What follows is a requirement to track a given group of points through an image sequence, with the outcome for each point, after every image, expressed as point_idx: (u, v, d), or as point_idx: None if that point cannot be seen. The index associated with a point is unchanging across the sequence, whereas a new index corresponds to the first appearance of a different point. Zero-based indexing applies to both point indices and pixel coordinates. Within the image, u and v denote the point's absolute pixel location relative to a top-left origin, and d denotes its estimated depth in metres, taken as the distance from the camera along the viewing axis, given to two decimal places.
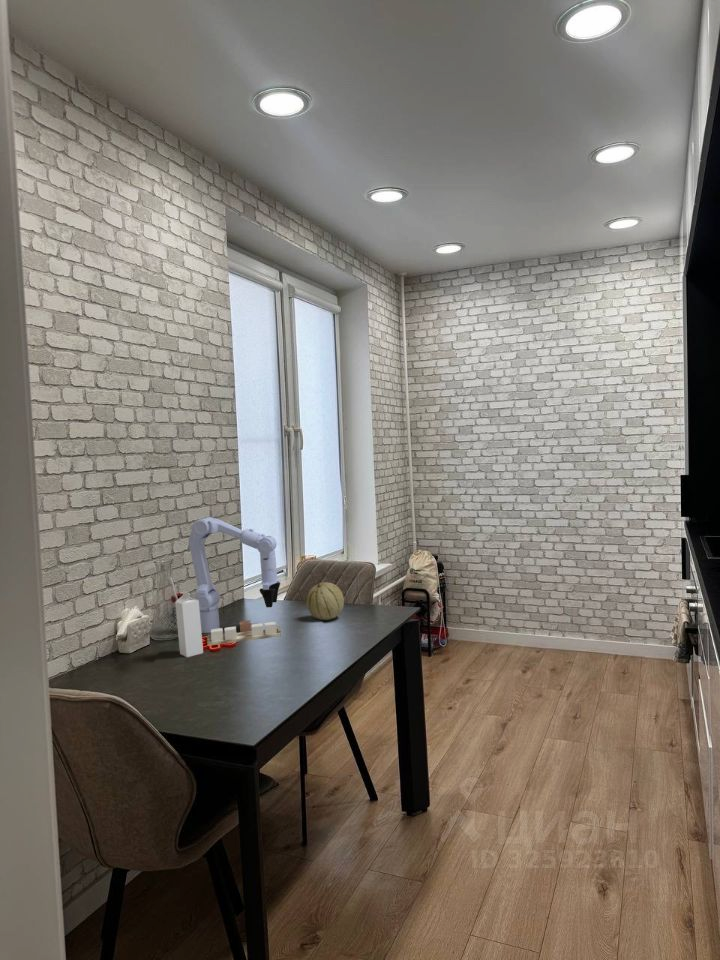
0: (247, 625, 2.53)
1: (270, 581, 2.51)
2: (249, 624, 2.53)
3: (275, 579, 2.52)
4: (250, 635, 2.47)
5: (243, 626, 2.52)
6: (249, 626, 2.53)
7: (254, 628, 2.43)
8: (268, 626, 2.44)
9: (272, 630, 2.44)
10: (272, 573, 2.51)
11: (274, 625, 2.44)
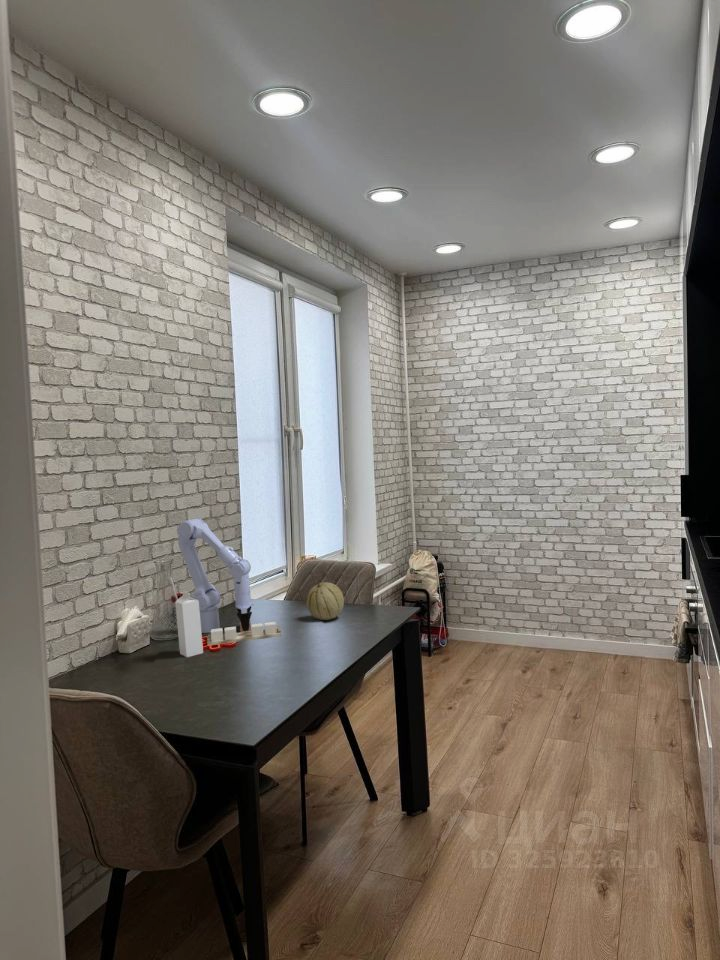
0: None
1: (246, 604, 2.52)
2: (249, 624, 2.53)
3: (250, 602, 2.53)
4: (250, 635, 2.47)
5: None
6: (249, 626, 2.53)
7: (254, 628, 2.43)
8: (268, 626, 2.44)
9: (272, 630, 2.44)
10: (247, 596, 2.52)
11: (274, 625, 2.44)
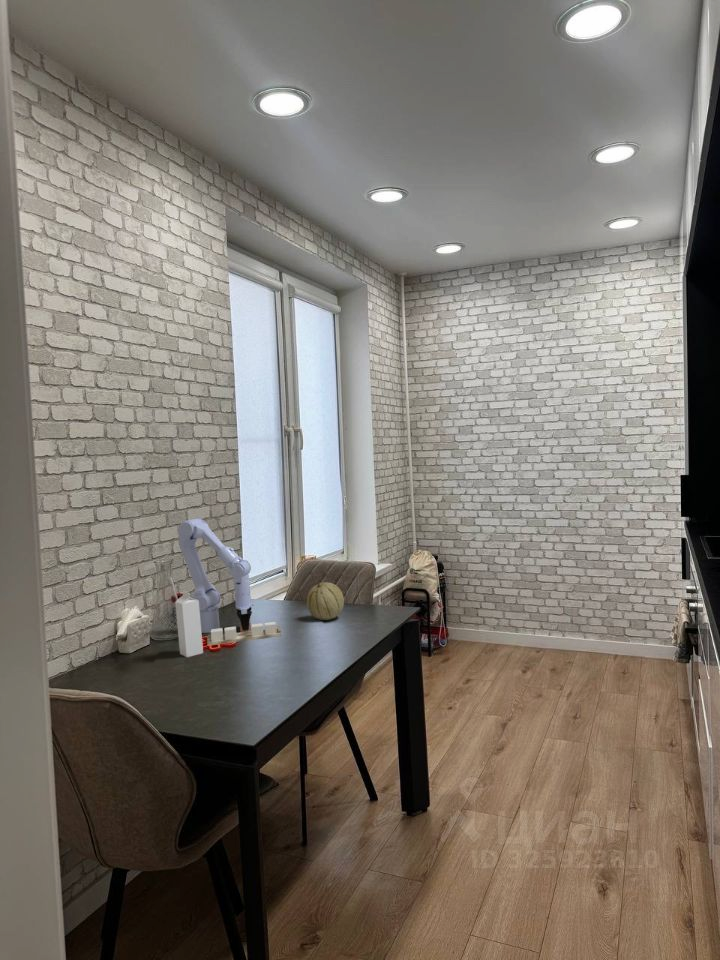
0: None
1: (246, 605, 2.52)
2: (249, 624, 2.53)
3: (250, 603, 2.53)
4: (250, 635, 2.47)
5: None
6: (249, 626, 2.53)
7: (254, 628, 2.43)
8: (268, 626, 2.44)
9: (272, 630, 2.44)
10: (247, 597, 2.52)
11: (274, 625, 2.44)
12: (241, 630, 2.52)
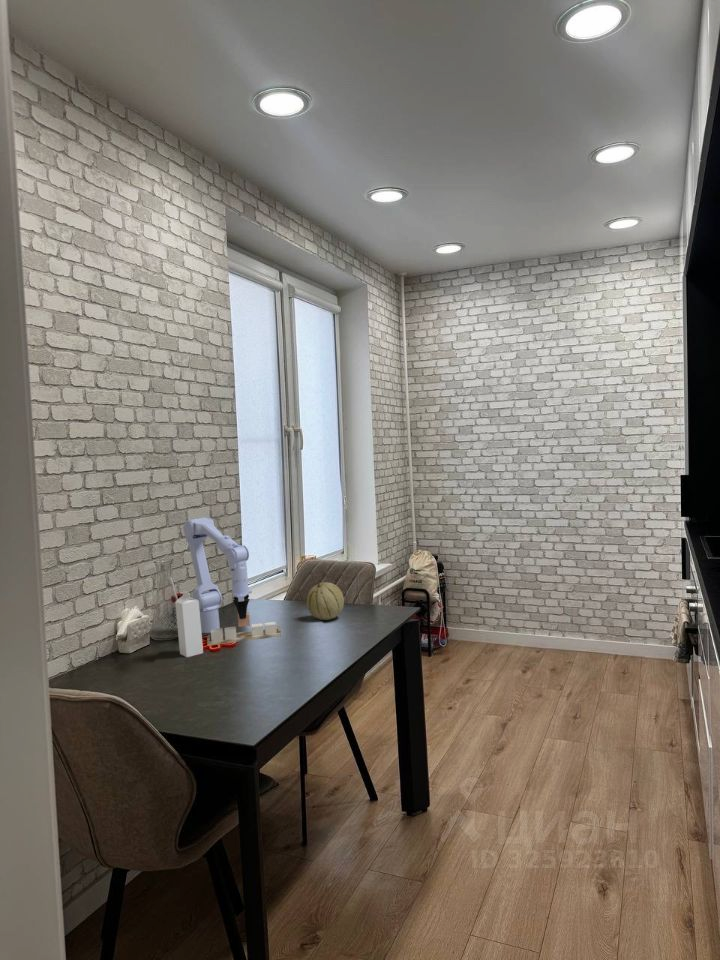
0: None
1: (243, 592, 2.41)
2: (247, 616, 2.42)
3: (247, 590, 2.43)
4: (250, 635, 2.47)
5: None
6: (247, 618, 2.42)
7: (254, 628, 2.43)
8: (268, 626, 2.44)
9: (272, 630, 2.44)
10: (245, 584, 2.41)
11: (274, 625, 2.44)
12: (239, 622, 2.42)
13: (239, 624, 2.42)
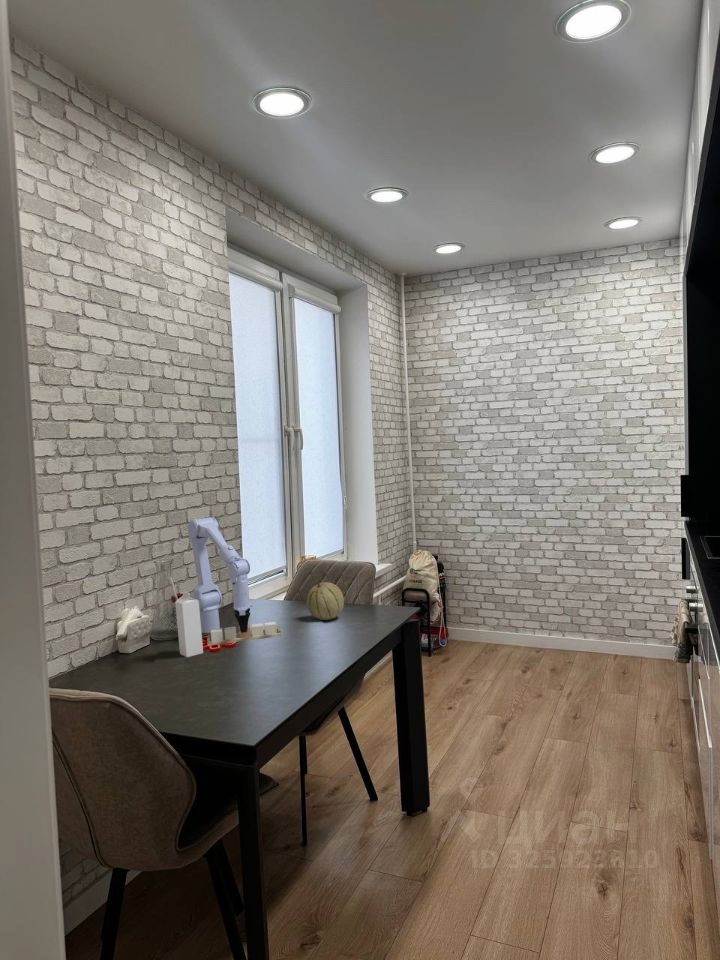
0: None
1: (244, 606, 2.41)
2: (248, 629, 2.42)
3: (248, 603, 2.43)
4: None
5: None
6: (248, 631, 2.42)
7: (254, 628, 2.43)
8: (268, 626, 2.44)
9: (272, 630, 2.44)
10: (246, 597, 2.42)
11: (274, 625, 2.44)
12: (240, 635, 2.42)
13: (240, 637, 2.42)
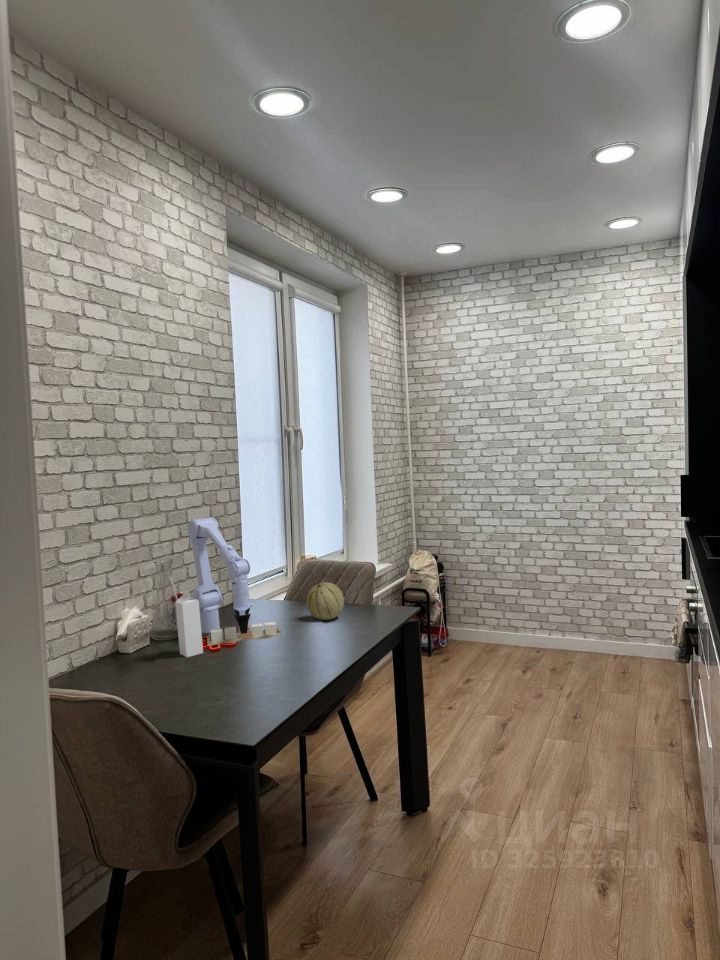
0: None
1: (244, 606, 2.41)
2: (248, 629, 2.42)
3: (248, 603, 2.43)
4: None
5: None
6: (248, 631, 2.42)
7: (254, 628, 2.43)
8: (268, 626, 2.44)
9: (272, 630, 2.44)
10: (246, 597, 2.42)
11: (274, 625, 2.44)
12: (240, 635, 2.42)
13: (240, 637, 2.42)
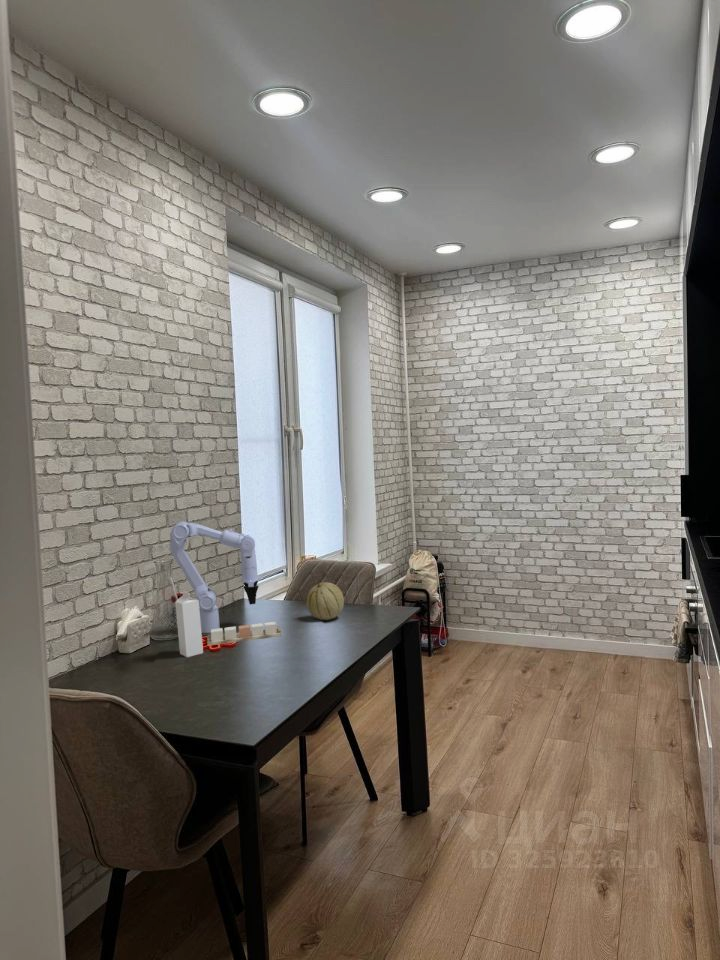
0: (246, 630, 2.42)
1: (252, 579, 2.58)
2: (248, 629, 2.42)
3: (256, 576, 2.60)
4: None
5: (242, 631, 2.42)
6: (248, 631, 2.42)
7: (254, 628, 2.43)
8: (268, 626, 2.44)
9: (272, 630, 2.44)
10: (254, 571, 2.58)
11: (274, 625, 2.44)
12: (240, 635, 2.42)
13: (240, 637, 2.42)
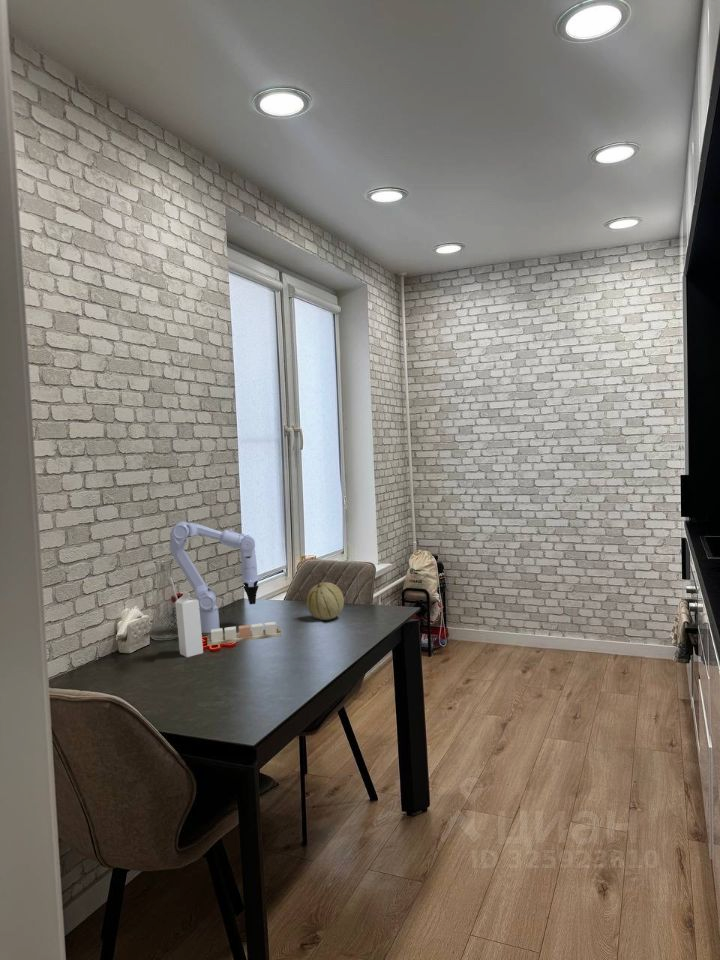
0: (246, 630, 2.42)
1: (252, 579, 2.58)
2: (248, 629, 2.42)
3: (256, 576, 2.60)
4: None
5: (242, 631, 2.42)
6: (248, 631, 2.42)
7: (254, 628, 2.43)
8: (268, 626, 2.44)
9: (272, 630, 2.44)
10: (254, 571, 2.58)
11: (274, 625, 2.44)
12: (240, 635, 2.42)
13: (240, 637, 2.42)
